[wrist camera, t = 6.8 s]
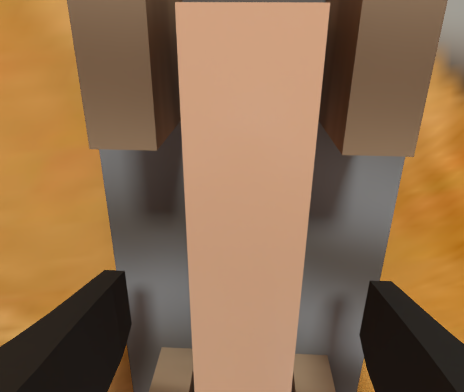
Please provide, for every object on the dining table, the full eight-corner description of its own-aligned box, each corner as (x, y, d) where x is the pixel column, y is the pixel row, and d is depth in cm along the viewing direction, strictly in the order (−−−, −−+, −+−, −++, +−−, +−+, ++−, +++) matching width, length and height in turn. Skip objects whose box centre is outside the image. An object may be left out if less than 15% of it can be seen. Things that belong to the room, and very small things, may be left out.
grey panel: (343, 415, 19) (372, 541, 14) (143, 404, 19) (108, 522, 14) (436, -71, 10) (578, -148, 6) (82, -71, 11) (-43, -141, 6)
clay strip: (270, 403, 17) (275, 540, 13) (215, 401, 17) (201, 535, 13) (297, 13, 11) (329, 2, 6) (208, 12, 11) (174, 1, 6)
